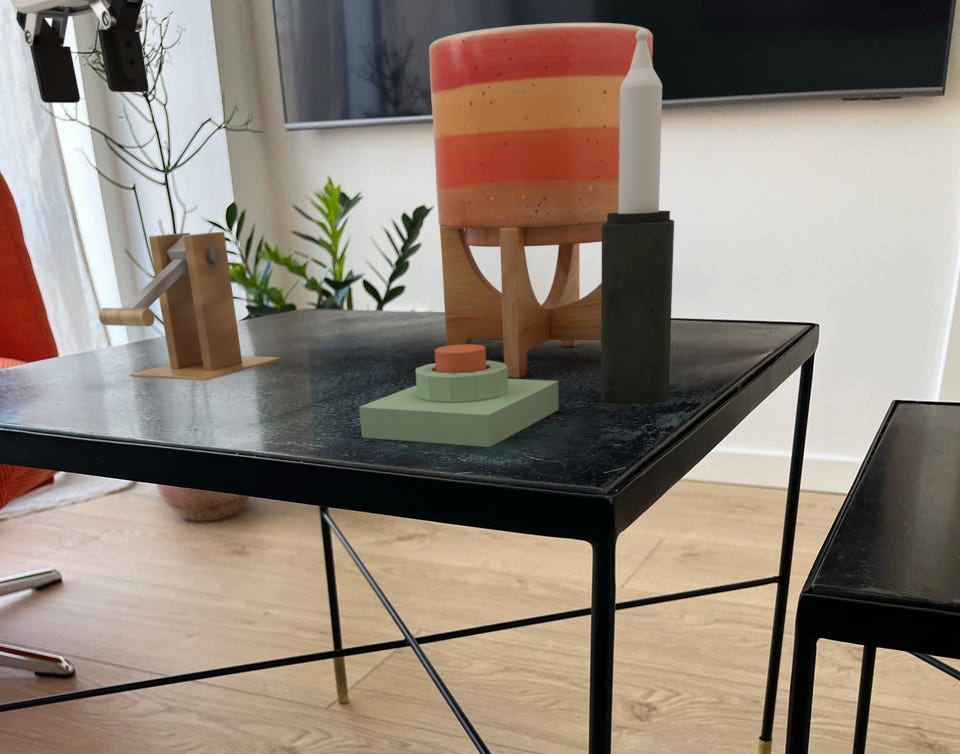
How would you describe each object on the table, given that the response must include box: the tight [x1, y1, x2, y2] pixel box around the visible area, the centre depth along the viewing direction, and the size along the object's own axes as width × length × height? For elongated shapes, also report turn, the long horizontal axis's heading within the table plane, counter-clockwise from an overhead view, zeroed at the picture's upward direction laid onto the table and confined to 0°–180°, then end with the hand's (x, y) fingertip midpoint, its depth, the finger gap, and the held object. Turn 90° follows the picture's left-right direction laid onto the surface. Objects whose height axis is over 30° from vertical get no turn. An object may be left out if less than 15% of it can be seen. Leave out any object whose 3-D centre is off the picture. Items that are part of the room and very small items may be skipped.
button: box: [434, 343, 487, 373], centre depth 72 cm, size 4×4×2 cm
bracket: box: [129, 231, 281, 381], centre depth 94 cm, size 11×9×13 cm
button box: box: [358, 360, 560, 448], centre depth 73 cm, size 12×10×4 cm
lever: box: [98, 235, 190, 327], centre depth 89 cm, size 12×5×2 cm, turn 154°
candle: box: [600, 29, 675, 404], centre depth 75 cm, size 5×5×25 cm
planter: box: [428, 22, 654, 379], centre depth 92 cm, size 20×20×27 cm
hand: (94, 97), depth 80 cm, fingers open, 9 cm apart
